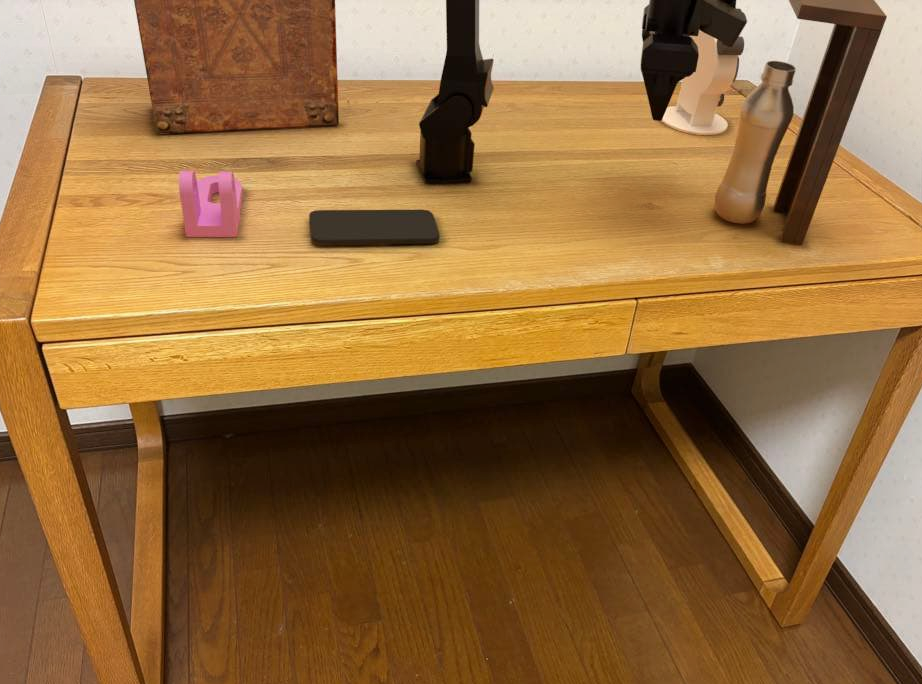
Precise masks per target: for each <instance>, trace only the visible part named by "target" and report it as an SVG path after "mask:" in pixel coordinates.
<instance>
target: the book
mask: <svg viewBox="0 0 922 684" xmlns="http://www.w3.org/2000/svg"><path fill="white" fill-rule="evenodd" d="M133 3H134V8H135V15H136V19H137V21H136V22H137V25H138V33H139V37H140V43H141V48H142V49H141V50H142V54H143V55H142V56H143V62H144V66H145V72H146V73H145V74H146V79H147V85H148V91H149V96H150V103H151V109H152V113H153V114H152V115H153V119H154V125H155V126H154V127H155V131H156V134H157V135H175V134H176V135H177V134H194V133H197V134H198V133H217V132H219V133H221V132H240V131H241V132H242V131H243V132H244V131H261V130H262V131H264V130H284V129H285V130H286V129H289V130H290V129H307V128H310V129H311V128H328V127H329V128H330V127H338V126H339V124H340V119H339V118H340V115H339V113H340V112H339V88H338V87H339V84H338V82H339V81H338V50H337V49H338V48H337V47H338V46H337V20H336V19H337V18H336V16H337V15H336V0H133Z"/></svg>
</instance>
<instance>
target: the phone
mask: <svg viewBox="0 0 922 684" xmlns="http://www.w3.org/2000/svg"><path fill="white" fill-rule="evenodd" d="M308 217H309V220H308V221H309V230H310V239H311V242H312V243H313V244H315V245H318V246H344V245H346V246H353V245H356V246H357V245H359V246H360V245H420V244H421V245H422V244H423V245H424V244H428V245H429V244H436V243H438V242H439V241H440V231H439V227H438V225H437V221H436V219H435V217H434V213H433V212H432V211H430V210H427V209H317V210H316V209H315V210H313V211H310V212H309V215H308Z"/></svg>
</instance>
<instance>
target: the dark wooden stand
mask: <svg viewBox="0 0 922 684" xmlns="http://www.w3.org/2000/svg"><path fill="white" fill-rule="evenodd" d="M788 2H789V4H790V6H791V8H792V10H793V13H794V14H795V17H796V19H797V20H803V21H811V22H818V23H824V24H832V25H833V27H832V31H831V32H830V33H831V34H830V37H829V39H828V43H827V46H826V48H825V51H824V53H823V56H822V60H821V63H820V66H819V69H818V73H817V76H816V78H815V81H814V84H813V87H812V90H811V93H810V96H809V99H808V102H807V105H806V108H805V111H804V114H803V117H802V120H801V123H800V125H799V129H798V131H797V134H796V138H795V141H794V144H793V146H792V150H791V152H790V155H789V157H788V161H787V165H786V168H785V171H784V173H783V176H782V180H781V183H780V184H779V189H778V192H777V195H776V198H775V200H774V203H773V206H772V209H773V212H777V213H784V215H785V218H786V221H785V224H784V227H783V229H782V233H781V236H780V239H779V240H780V242H781V243H783V244H784V243H785V244H789V245H790V244H791V245H796V246H803V244H804V241H805V239H806V236H807V234H808V231H809V228H810V225H811V222H812V220H813V217H814V214H815V212H816V209H817V206H818V204H819V200H820V198H821V196H822V193H823V190H824V187H825V185H826V182H827V179H828V176H829V174H830V171H831V168H832V166H833V163H834V160H835V158H836V155H837V153H838V149H839V147H840V145H841V141H842V139H843V136H844V135H845V134H844V133H845V131H846V128H847V125H848V123H849V120H850V117H851V115H852V112H853V109H854V106H855V104H856V101H857V99H858V96H859V94H860V91H861V87H862V85H863V82H864V79H865V77H866V75H867V72H868V69H869V66H870V64H871V61H872V58H873V55H874V53H875V50H876V47H877V44H878V42H879V39H880V37H881V33H882V31H883V28H884V26H885V23H886V20H887V18H888V16H887V15H886V13H885V12H884V10H883V9H882V8H881V7H880V5H879V4H878V3H877V2H876V0H788Z"/></svg>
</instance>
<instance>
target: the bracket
mask: <svg viewBox="0 0 922 684" xmlns="http://www.w3.org/2000/svg"><path fill="white" fill-rule="evenodd" d="M178 192H179V198H180V205H181V210H182V211H181V212H182V218H183V225H184V232H185V237H186V238H237V237H238V231H239V227H240V226H239V225H240V219H241V218H240V217H241V211H242V204H243V198H244V197H243V196H244V195H243V193H244V192H243V184H242V182H241V181H240V180H239V179H238V178H235V174H234V171H219V172H218V174H217V175H209V176H204V177H202V178H200V179H197V175H196V172H195V170H180V171H179V173H178ZM217 193H218V195H219V196H218V197H219V202H211V201H212V196H213V195H214V194H217Z"/></svg>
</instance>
